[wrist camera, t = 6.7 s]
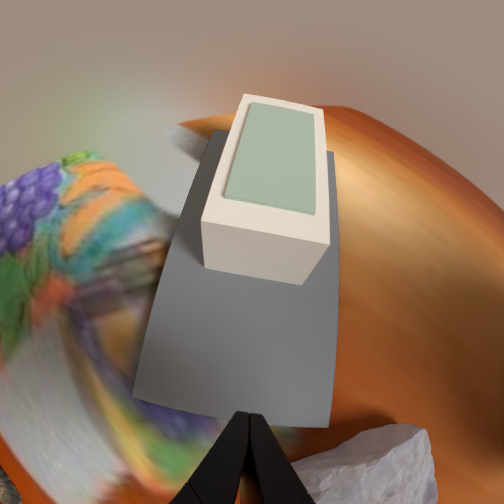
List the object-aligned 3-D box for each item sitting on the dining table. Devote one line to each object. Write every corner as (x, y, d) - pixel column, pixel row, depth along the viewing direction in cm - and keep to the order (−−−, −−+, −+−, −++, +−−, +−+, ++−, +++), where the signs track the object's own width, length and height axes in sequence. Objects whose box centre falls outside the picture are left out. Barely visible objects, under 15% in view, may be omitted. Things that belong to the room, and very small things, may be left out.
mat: (323, 426, 14) (328, 427, 13) (135, 397, 13) (131, 397, 13) (330, 158, 24) (333, 152, 24) (214, 135, 24) (214, 129, 23)
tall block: (331, 242, 12) (323, 107, 18) (200, 217, 12) (244, 91, 18) (301, 285, 17) (307, 155, 23) (204, 268, 17) (238, 142, 23)
